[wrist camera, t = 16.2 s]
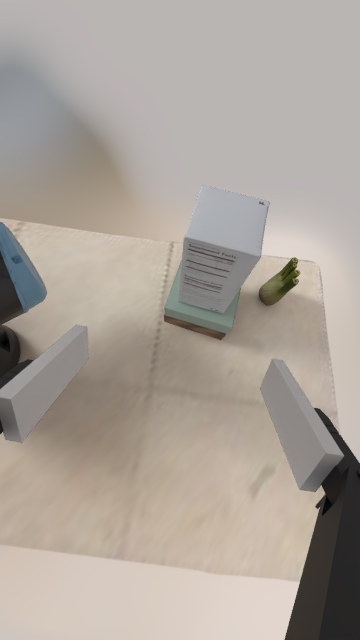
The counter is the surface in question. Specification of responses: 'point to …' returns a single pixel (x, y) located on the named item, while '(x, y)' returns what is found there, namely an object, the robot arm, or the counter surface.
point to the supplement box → (220, 247)
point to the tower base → (194, 327)
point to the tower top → (199, 310)
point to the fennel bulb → (280, 283)
